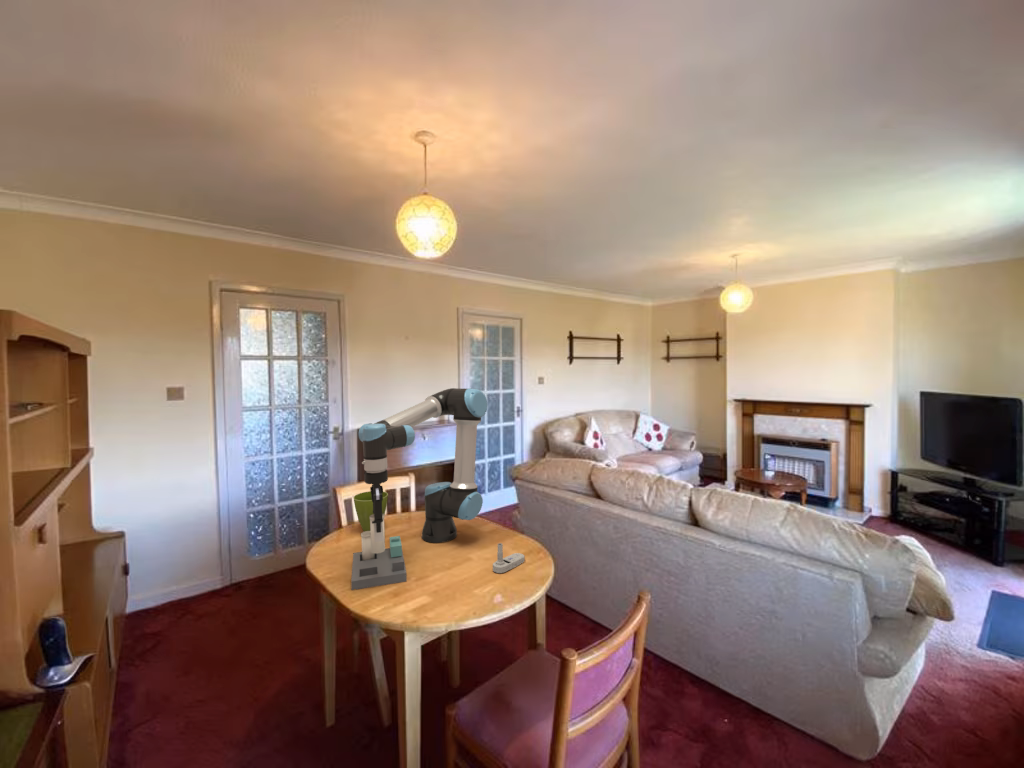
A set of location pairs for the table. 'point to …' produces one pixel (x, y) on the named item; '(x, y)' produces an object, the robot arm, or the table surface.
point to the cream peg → (375, 546)
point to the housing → (377, 570)
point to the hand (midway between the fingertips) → (378, 538)
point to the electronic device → (506, 560)
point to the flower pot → (367, 508)
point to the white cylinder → (366, 546)
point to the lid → (395, 546)
